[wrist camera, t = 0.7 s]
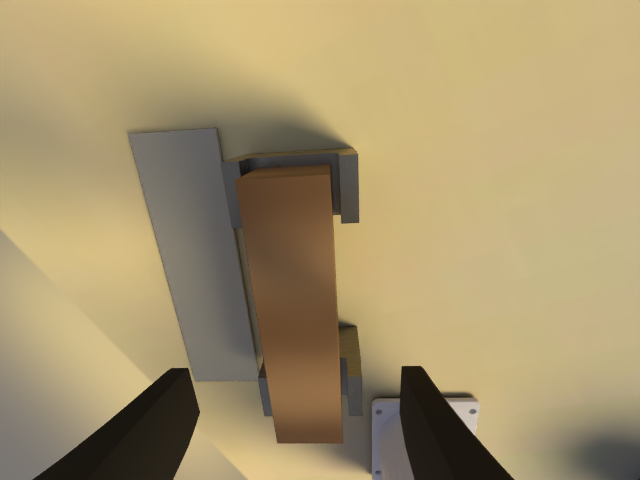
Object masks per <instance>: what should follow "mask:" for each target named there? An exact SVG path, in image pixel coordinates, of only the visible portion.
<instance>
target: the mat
mask: <svg viewBox="0 0 640 480" xmlns="http://www.w3.org/2000/svg"><path fill="white" fill-rule="evenodd" d="M128 136H129V139H130V143H131V147H132V150H133V154H134V158H135V161H136V165H137V169H138V172H139V176H140V180H141V184H142V187H143V191H144V195H145V198H146V202H147V206H148V209H149V213H150V217H151V220H152V224H153V228H154V231H155V235H156V239H157V242H158V246H159V250H160V253H161V257H162V261H163V264H164V268H165V272H166V275H167V279H168V283H169V287H170V290H171V294H172V298H173V301H174V305H175V309H176V312H177V316H178V320H179V323H180V327H181V331H182V334H183V338H184V342H185V345H186V349H187V353H188V356H189V360H190V364H191V367H192V371H193V375H194V378H195V381H258V376H259V368H258V363H257V357H256V351H255V345H254V339H253V334H252V328H251V322H250V316H249V310H248V304H247V299H246V293H245V287H244V281H243V275H242V269H241V264H240V258H239V252H238V246H237V240H236V235H235V229H232V227H231V221H230V216H229V210H228V204H227V199H226V193H225V187H224V182H223V176H222V170H221V164H220V162H223V159H222V153H221V147H220V141H219V136H218V130H217V128H208V129H193V130H179V131H164V132H150V133H135V134H128Z"/></svg>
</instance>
